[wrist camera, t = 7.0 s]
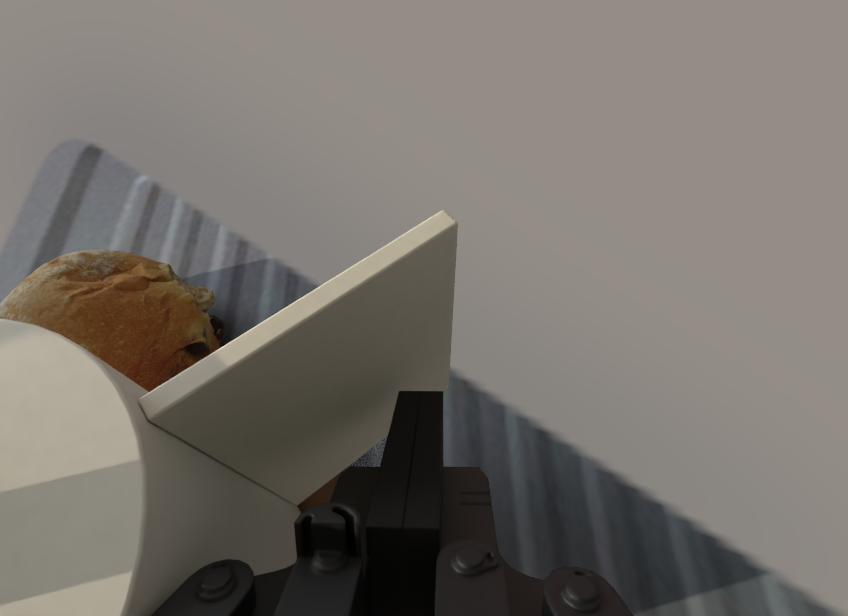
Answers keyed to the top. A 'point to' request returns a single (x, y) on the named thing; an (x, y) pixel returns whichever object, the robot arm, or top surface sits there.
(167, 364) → the bread roll
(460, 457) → the top surface
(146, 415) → the paper towel roll
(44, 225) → the top surface
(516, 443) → the top surface
